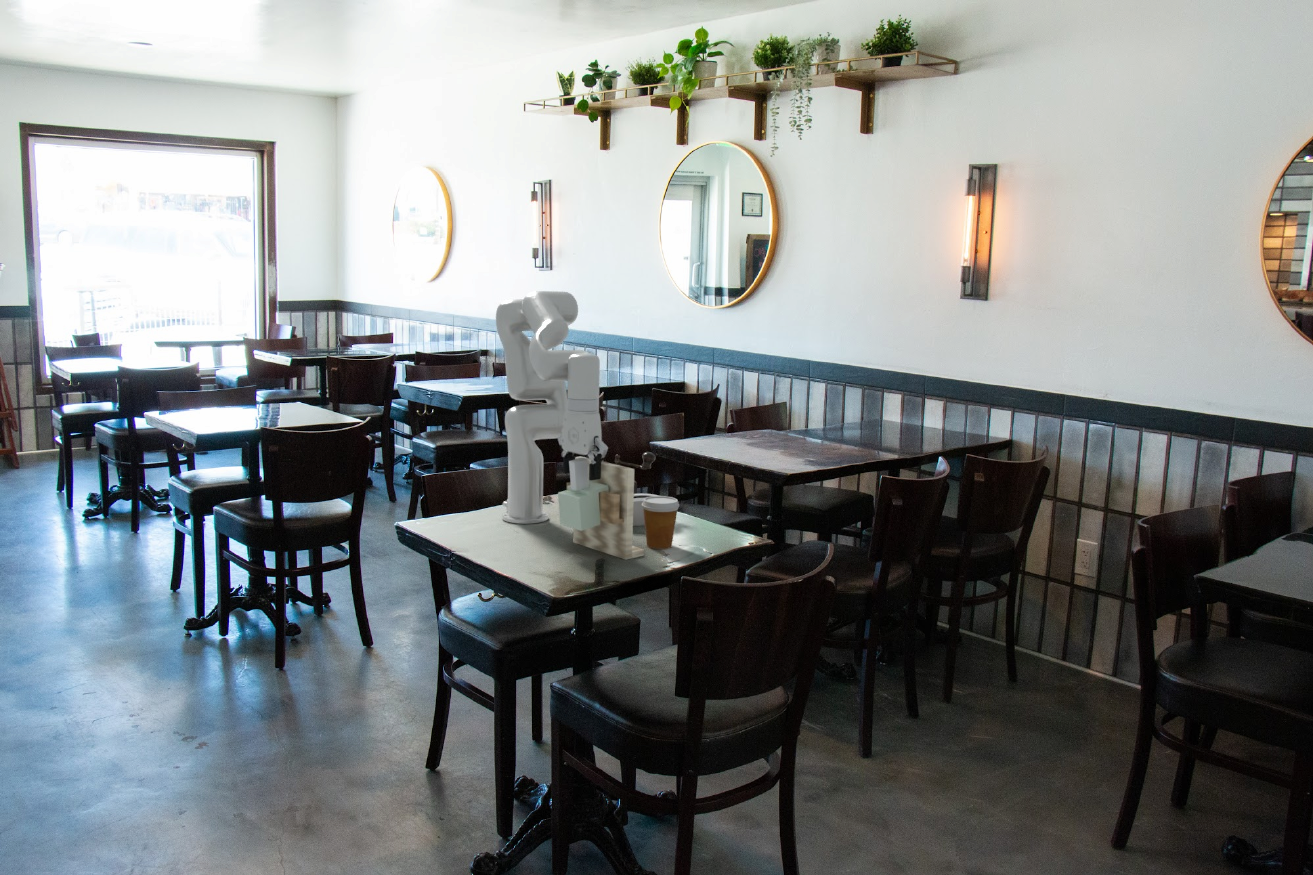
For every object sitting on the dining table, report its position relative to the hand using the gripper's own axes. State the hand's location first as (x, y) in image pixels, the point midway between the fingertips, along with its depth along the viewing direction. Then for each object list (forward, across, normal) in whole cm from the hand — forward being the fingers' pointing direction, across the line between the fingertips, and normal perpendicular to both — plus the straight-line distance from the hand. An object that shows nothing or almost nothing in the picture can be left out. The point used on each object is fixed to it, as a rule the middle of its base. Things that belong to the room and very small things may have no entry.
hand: (581, 476), depth 249 cm
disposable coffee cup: (+20, +6, +21) cm, 29 cm away
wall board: (+20, 0, +7) cm, 21 cm away
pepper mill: (+20, -27, +39) cm, 51 cm away
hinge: (+20, -13, +32) cm, 40 cm away
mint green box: (+12, 0, +1) cm, 12 cm away
